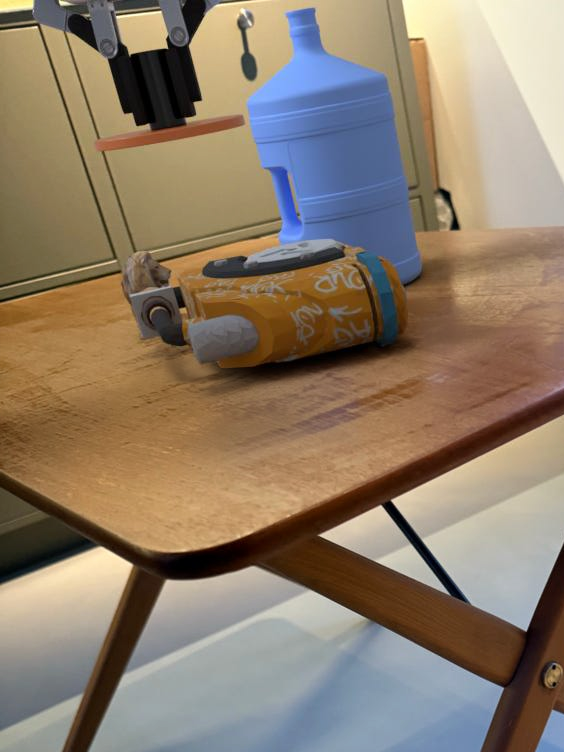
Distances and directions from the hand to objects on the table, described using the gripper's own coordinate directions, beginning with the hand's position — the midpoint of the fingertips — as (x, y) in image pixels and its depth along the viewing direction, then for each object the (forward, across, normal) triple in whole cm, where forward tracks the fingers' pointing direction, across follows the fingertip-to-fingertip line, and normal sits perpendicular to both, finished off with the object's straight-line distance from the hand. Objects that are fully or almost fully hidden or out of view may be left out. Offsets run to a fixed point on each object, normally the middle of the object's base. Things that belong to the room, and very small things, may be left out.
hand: (166, 117), depth 69 cm
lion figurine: (+22, +12, -45) cm, 52 cm away
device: (+22, -1, -26) cm, 34 cm away
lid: (+1, 0, 0) cm, 1 cm away
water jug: (+22, -11, -48) cm, 53 cm away
